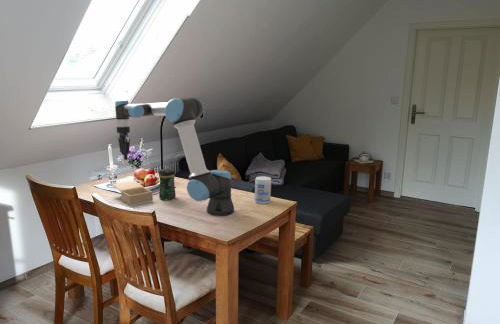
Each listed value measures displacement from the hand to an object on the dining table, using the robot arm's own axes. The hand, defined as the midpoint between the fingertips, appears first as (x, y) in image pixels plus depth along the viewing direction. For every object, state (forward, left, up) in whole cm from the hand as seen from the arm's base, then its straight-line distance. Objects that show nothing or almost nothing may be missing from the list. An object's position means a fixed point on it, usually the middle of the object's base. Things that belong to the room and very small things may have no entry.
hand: (125, 164), depth 237 cm
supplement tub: (-61, -58, -20) cm, 87 cm away
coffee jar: (-20, -17, -20) cm, 33 cm away
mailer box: (-14, 0, -20) cm, 24 cm away
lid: (-2, 0, -13) cm, 13 cm away
